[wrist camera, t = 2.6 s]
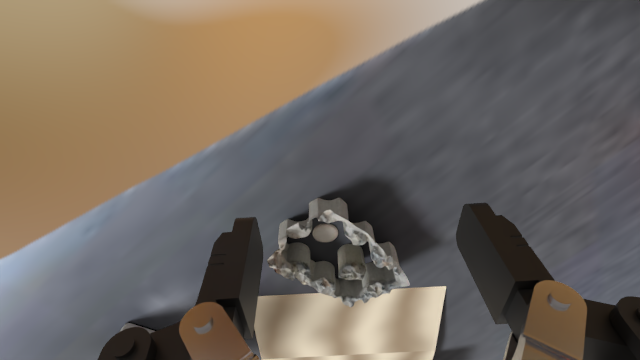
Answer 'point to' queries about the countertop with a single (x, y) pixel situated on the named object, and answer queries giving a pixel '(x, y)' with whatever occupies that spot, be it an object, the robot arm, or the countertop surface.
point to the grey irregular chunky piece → (351, 262)
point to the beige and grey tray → (350, 326)
